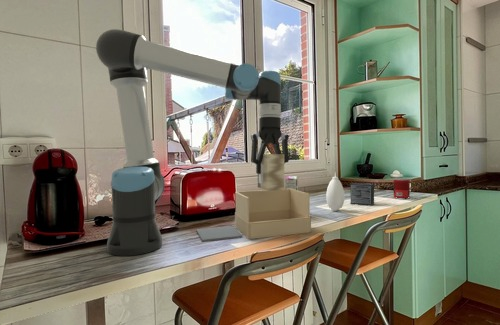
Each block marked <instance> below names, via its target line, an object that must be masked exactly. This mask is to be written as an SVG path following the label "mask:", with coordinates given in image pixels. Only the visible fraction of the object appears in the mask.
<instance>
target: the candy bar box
mask: <svg viewBox="0 0 500 325" xmlns="http://www.w3.org/2000/svg"><path fill="white" fill-rule="evenodd" d="M285 189H294V190H298V191H299V176H298V175H289V176H286V178H285Z"/></svg>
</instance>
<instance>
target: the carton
mask: <svg viewBox="0 0 500 325" xmlns="http://www.w3.org/2000/svg"><path fill="white" fill-rule="evenodd" d="M234 195H235V213H234V226H235V227H234V228H235V229H236V230H237V231H238V232H239V233H240V234H241V235H242V236H244V237H245V238H247V239H248V240H250V239H251V240H252V239H261V238H272V237H280V236H281V237H282V236H289V235H298V234H299V235H300V234H305V233H306V234H308V233H312V217H311V216H310V215H311V214H310V213H311V212H310V211H311V209H310V208H311V206H310V204H311V203H310V193H308V192H304V191H301V190H299V189H298V190H294V189H286V188H284V190H271V191H267V190H264V189H261V190H245V191H244V190H243V191H235V194H234Z"/></svg>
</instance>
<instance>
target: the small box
mask: <svg viewBox="0 0 500 325" xmlns="http://www.w3.org/2000/svg"><path fill="white" fill-rule="evenodd" d="M355 204H358V206H368V205H372V206H373V205H375V183H367V182H365V183H364V182H362V183H360V182H352V183H350V205H355Z"/></svg>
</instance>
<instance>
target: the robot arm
mask: <svg viewBox="0 0 500 325" xmlns="http://www.w3.org/2000/svg"><path fill="white" fill-rule="evenodd" d="M95 46H96V47H95V50H96V55H97V57H98V59H99V60H100V62H101V63H102V64H103V65H104V66H105V67H106V68H107V69H108V76H109V83H110V85H112V86H113V87H114V88H115V90H116V95H117V101H118V108H119V115H120V122H121V129H122V135H123V143H124V149H125V155H126V162H125V163H124V164H123V166H122V168H118V169H116V170H114V171H113V172H112V173H111V181H110V186H111V202H112V203H111V207H112V226H111V228H110V232H109V235H108V238H107V242H106V251H107V253H108V254H110V255H113V256H119V257H130V256H138V255H145V254H148V253H151V252H154V251H156V250H159V249H160V248H161V247H162V245H163V237H162V234H161V231H160V229H159V226H158V224H157V223H158V222H157V219H156V201H157V200H158V199H160V197H161V196H162V194H163V192H164V190H165V186H166V185H165V184H166V183H165V178H164V175H163V173H162V171H161V165H160V161H159V160H158V159H157V158H155V156H154V155H155V154H154V149H153V148H154V147H153V142H152V135H151V134H152V133H151V128H150V121H149V113H148V107H147V99H146V92H145V87H146V85H147V84H148V83H149V82H148V71H149V70H153V71H156V72H159V73H160V72H161V73H165V74H169V75H173V76H176V77H180V78H184V79H187V80H192V81H196V82H200V83H204V84H208V85H212V86H215V87H220V88H223V89H224V96H225V99H227V100H233V101H237V100H239V101H240V100H241V101H243V100H247V101H248V100H251V101H257V100H258V101H259V102H258V103H259V105H258V106H259V110H258V114H259V115H258V116H259V121H258V127H259V129H258V133H254V134H253V133H252V134H251V135H250V138H251V156H250V162H251V164H252V163H253V164H255V165H256V167H255V172H256V174H257V175H258V174H259V183H261V184H263V165H261V163H262V159H263V154H266V153H265V152H266V149H267V146H268V145H269V144H272V147H273V149H274V154H284V165H285V164H286V163H289V159H290V158H289V146H288V145H289V144H288V143H289V142H288V140H289V137H290V135H289V134H284V133H282V131H281V129H282V128H281V127H282V126H281V125H282V122H281V121H282V118H281V114H282V111H281V110H282V109H281V108H282V107H281V106H282V105H281V103H282V102H281V99H282V98H281V96H282V81H281V80H282V79H281V74H280V73H279V72H278V71H276V70H264V71H261V72H260V73H259V70H258V68H256V66H255V65H253V64H251V63H247V62H246V63H241V64H235V63H232V62H228V61H224V60H220V59H217V58H214V57H209V56H206V55H202V54H198V53H194V52H192V51H187V50H183V49H179V48H175V47H173V46H168V45H164V44H160V43H157V42H153V41H149V40H147V39H146V38H145V36H144V35H142V34H137V33H134V32H131V31H127V30H123V29H119V28H118V29H117V28H114V29H109V30H106V31H104V32H102V34H100V35H99V37H98V39H97V41H96V44H95ZM148 69H149V70H148ZM259 138H260V140H261V142H260V147H259V151H258V140H259ZM280 139H281V147H280V142H279V140H280Z"/></svg>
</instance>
